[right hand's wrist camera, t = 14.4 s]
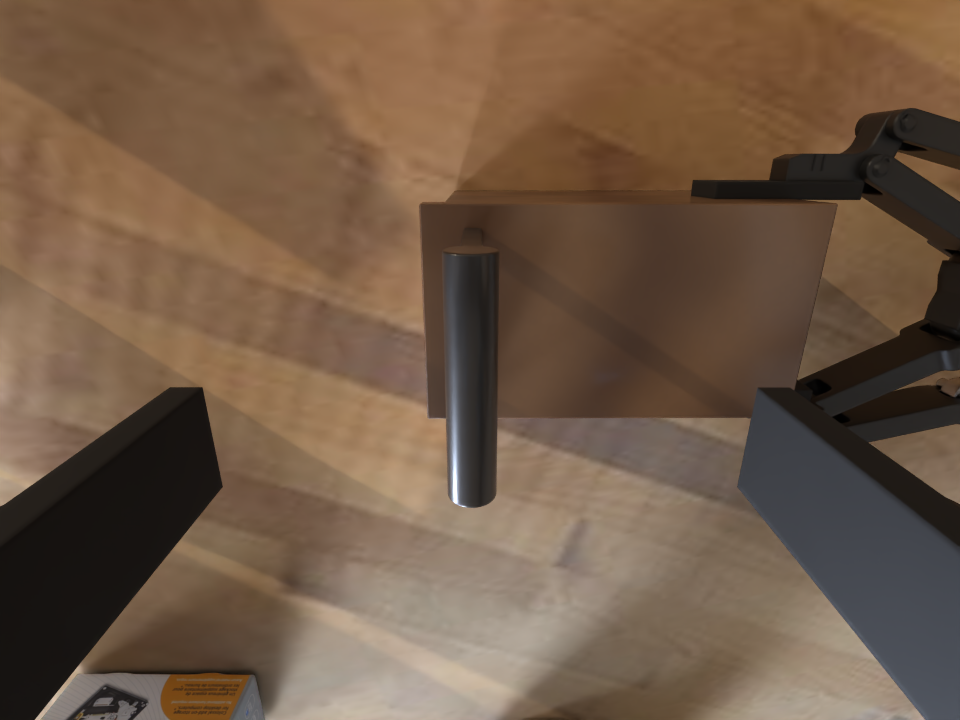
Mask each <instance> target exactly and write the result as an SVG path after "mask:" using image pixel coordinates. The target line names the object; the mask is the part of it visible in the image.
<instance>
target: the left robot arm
mask: <svg viewBox="0 0 960 720" xmlns="http://www.w3.org/2000/svg"><path fill="white" fill-rule="evenodd" d="M855 135H856V138H855V140H854V142H853V143H852V145H851V146H850V147H849V148H848V149H847V150H846V151H844V152H843V153H840V154H785V155H782V156H780V157H777V158H775V159H773V164H772V169H771V174H770V179H769V180H693V184H692V191H691V196H696V197H703V198H711V199H797V200H860V199H861V197H863V198H864V199H866V200H868V201H869V202H871V203H872V204H874V205H875V206H877V207H878V208H880V209H882V210H883V211H885V212H886V213H888V214H889V215H891V216H892V217H894V218H896V219H897V220H899V221H900V222H902V223H903V224H905V225H906V226H908V227H910V228H911V229H913V230H914V231H916V232H917V233H919V234H920V235H922V236H924V237H925V238H927V239H928V241H927V243H929V244H930V245H932V246H933V247H935V248H936V249H938V250H939V251H941V252H942V253H944V254H946V255H947V256H949V257H950V259H949V260H943V261H942V264H941V267H940V270H939V273H938V285H937V291H936V293H935V295H934V297H933V298H932V300H931V302H930V303H929V305H928V308H927V312H926V315H925V318H924V319H923V320H921V321H919V322H916V323H914V324H912V325H910V326H907V327H905V328H903V329H901V330H900V335H899V336H898V337H896V338H894V339H891V340H889V341H887V342H884V343H882V344H880V345H878V346H875V347H873V348H871V349H868V350H866V351H864V352H862V353H859V354H857V355H855V356H853V357H850V358H848V359H846V360H843V361H841V362H839V363H837V364H834V365H832V366H830V367H828V368H825V369H823V370H821V371H818V372H816V373H814V374H812V375H809V376H807V377H805V378H802V379H800V380H797V381H796V385H795V389H794V391H796V392H797V393H799V394H800V395H801V396H803V397H804V398H806V399H807V400H808V401H810V402H811V403H813V404H814V405H815V406H817V407H818V408H820V409H821V410H823V411H824V412H825V413H827V414H828V415H830V416H831V417H832V418H834V419H835V420H837V421H838V422H839V423H841V424H842V425H844V426H845V427H847V428H848V429H849V430H851V431H852V432H854V433H855V434H856V435H858V436H859V437H861V438H862V439H864V440H865V441H866V442H872V441H877V440H882V439H887V438H891V437H896V436H901V435H906V434H910V433H915V432H920V431H925V430H929V429H934V428H939V427H944V426H948V425H953V424H960V377H959V378H952V379H950V380H947V379H945V378H941V379H939V380H938V381H937V382H936V386H931V385H926V386H916V387H911V388H906V389H901V390H897V391H894V390H896V389H899V388H901V387H903V386H906V385H908V384H911V383H913V382H915V381H918V380H920V379H922V378H925V377H927V376H929V375H932V374H934V373H937V372H939V371H944V370H947V371H955V370H960V202H959V201H958V200H956V199H955V198H953V197H952V196H950V195H949V194H947V193H946V192H944V191H943V190H941V189H940V188H938V187H937V186H935V185H934V184H932V183H931V182H929V181H928V180H926V179H925V178H923V177H922V176H920V175H919V174H917V173H916V172H914V171H913V170H911V169H910V168H908V167H907V166H905V165H904V164H902V163H901V162H899V161H898V160H896V159H895V158H894V156H895V155H896V153H897V152H901V153H904V154H907V155H911V156H914V157H918V158H921V159H924V160H928V161H931V162H935V163H938V164H941V165H945V166H948V167H952V168H955V169H958V170H960V122H958V121H955V120H952V119H948V118H945V117H942V116H939V115H935V114H932V113H929V112H925V111H922V110H919V109H915V108H908V109H901V110H893V111H886V112H878V113H871V114H867V115H864V116H863V117H862V118H861V119H860V120H859V121H858V123H857V124H856V128H855Z"/></svg>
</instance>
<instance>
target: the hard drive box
mask: <svg viewBox="0 0 960 720" xmlns="http://www.w3.org/2000/svg"><path fill="white" fill-rule="evenodd" d="M41 720H265V718H264V713H263V709H262V704H261V700H260V696H259V691H258V686H257V682H256V678H255V676H254V675H225V674H221V673H202V674H189V675H185V674H132V673H109V674H77V675H76V677H75V678H74V679H73V680H72V681H71V683H70V684H69V685H68V686H67V688H66V689H65V690H64V691H63V693H62V694H61V695H60V696H59V698H58V699H57V700H56V701H55V703H54V704H53V705H52V706H51V708H50V709H49V710H48V711H47V712H46V714H45V715H44V716H43V717H42V719H41Z"/></svg>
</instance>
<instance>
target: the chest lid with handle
mask: <svg viewBox="0 0 960 720" xmlns="http://www.w3.org/2000/svg"><path fill="white" fill-rule="evenodd" d="M836 210H837V204H836V203H826V202H422V203H421V204H420V205H419V213H420V238H421V263H422V288H423V314H424V339H425V364H426V389H427V414H428V418H429V419H432V418H446V433H447V472H448V496H449V498H450V499H451V501H452V502H454V503H455V504H457V505H459V506H462V507H468V508H476V507H481V506H484V505H487V504H489V503H490V502H491V501H493V499H494V498H495V496H496V480H497V418H751V417H752V412H753V407H754V403H755V398H756V393H757V388H758V387H790V388H791V389H793V390H794V389H795V385H796V381H797V377H798V372H799V368H800V364H801V359H802V355H803V351H804V347H805V342H806V338H807V334H808V329H809V325H810V321H811V317H812V312H813V308H814V304H815V300H816V295H817V291H818V287H819V282H820V278H821V274H822V270H823V265H824V261H825V257H826V253H827V248H828V244H829V240H830V235H831V231H832V227H833V223H834V218H835V214H836Z"/></svg>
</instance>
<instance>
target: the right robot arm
mask: <svg viewBox="0 0 960 720" xmlns="http://www.w3.org/2000/svg"><path fill="white" fill-rule="evenodd" d="M222 487H223V486H222V481H221V476H220V471H219V466H218V461H217V456H216V452H215V447H214V442H213V437H212V432H211V427H210V422H209V417H208V412H207V407H206V403H205V398H204V393H203V388H202V387H170V388H169V389H167V390H166V391H164V392H163V393H161V394H160V395H159V396H157V397H156V398H154V399H153V400H152V401H150V402H149V403H147V404H146V405H145V406H143V407H142V408H140V409H139V410H137V411H136V412H135V413H133V414H132V415H130V416H129V417H128V418H126V419H125V420H123V421H122V422H121V423H119V424H118V425H116V426H115V427H113V428H112V429H111V430H109V431H108V432H106V433H105V434H104V435H102V436H101V437H99V438H98V439H96V440H95V441H94V442H92V443H91V444H89V445H88V446H87V447H85V448H84V449H82V450H81V451H80V452H78V453H77V454H75V455H74V456H72V457H71V458H70V459H68V460H67V461H65V462H64V463H63V464H61V465H60V466H58V467H57V468H56V469H54V470H53V471H51V472H50V473H48V474H47V475H46V476H44V477H43V478H41V479H40V480H39V481H37V482H36V483H34V484H33V485H31V486H30V487H29V488H27V489H26V490H24V491H23V492H22V493H20V494H19V495H17V496H16V497H15V498H13V499H12V500H10V501H9V502H7V503H6V504H4V505H2V506H0V720H35V719H36V717H37V716H38V715H39V714H40V712H41V711H42V710H43V709H44V707H45V706H46V705H47V704H48V702H49V701H50V700H51V699H52V698H53V696H54V695H55V694H56V693H57V691H58V690H59V689H60V688H61V686H62V685H63V684H64V683H65V681H66V680H67V679H68V678H69V676H70V675H71V674H72V673H73V672H74V670H75V669H76V668H77V667H78V665H79V664H80V663H81V662H82V660H83V659H84V658H85V657H86V655H87V654H88V653H89V652H90V650H91V649H92V648H93V647H94V646H95V644H96V643H97V642H98V641H99V639H100V638H101V637H102V636H103V634H104V633H105V632H106V631H107V629H108V628H109V627H110V626H111V624H112V623H113V622H114V621H115V620H116V618H117V617H118V616H119V615H120V613H121V612H122V611H123V610H124V608H125V607H126V606H127V605H128V603H129V602H130V601H131V600H132V598H133V597H134V596H135V595H136V594H137V592H138V591H139V590H140V589H141V587H142V586H143V585H144V584H145V582H146V581H147V580H148V579H149V577H150V576H151V575H152V574H153V572H154V571H155V570H156V569H157V568H158V566H159V565H160V564H161V563H162V561H163V560H164V559H165V558H166V556H167V555H168V554H169V553H170V551H171V550H172V549H173V548H174V546H175V545H176V544H177V543H178V542H179V540H180V539H181V538H182V537H183V535H184V534H185V533H186V532H187V530H188V529H189V528H190V527H191V525H192V524H193V523H194V522H195V520H196V519H197V518H198V517H199V515H200V514H201V513H202V512H203V511H204V509H205V508H206V507H207V506H208V504H209V503H210V502H211V501H212V499H213V498H214V497H215V496H216V494H217V493H218V492H219V491H220V489H221V488H222ZM737 487H738V488H739V489H740V491H741V492H742V493H743V494H744V496H745V497H746V498H747V499H748V501H749V502H750V503H751V504H752V506H753V507H754V508H755V509H756V511H757V512H758V513H759V514H760V515H761V517H762V518H763V519H764V520H765V522H766V523H767V524H768V525H769V527H770V528H771V529H772V530H773V532H774V533H775V534H776V535H777V537H778V538H779V539H780V540H781V542H782V543H783V544H784V545H785V546H786V548H787V549H788V550H789V551H790V553H791V554H792V555H793V556H794V558H795V559H796V560H797V561H798V563H799V564H800V565H801V566H802V568H803V569H804V570H805V571H806V572H807V574H808V575H809V576H810V577H811V579H812V580H813V581H814V582H815V584H816V585H817V586H818V587H819V589H820V590H821V591H822V592H823V594H824V595H825V596H826V597H827V598H828V600H829V601H830V602H831V603H832V605H833V606H834V607H835V608H836V610H837V611H838V612H839V613H840V615H841V616H842V617H843V618H844V620H845V621H846V622H847V623H848V624H849V626H850V627H851V628H852V629H853V631H854V632H855V633H856V634H857V636H858V637H859V638H860V639H861V641H862V642H863V643H864V644H865V646H866V647H867V648H868V649H869V650H870V652H871V653H872V654H873V655H874V657H875V658H876V659H877V660H878V662H879V663H880V664H881V665H882V667H883V668H884V669H885V670H886V672H887V673H888V674H889V675H890V676H891V678H892V679H893V680H894V681H895V683H896V684H897V685H898V686H899V688H900V689H901V690H902V691H903V693H904V694H905V695H906V696H907V698H908V699H909V700H910V701H911V702H912V704H913V705H914V706H915V707H916V709H917V710H918V711H919V712H920V714H921V715H922V716H923V717H924V719H925V720H960V504H958V503H956V502H954V501H952V500H950V499H948V498H945V497H944V496H943V495H941V494H940V493H938V492H937V491H936V490H934V489H933V488H931V487H930V486H929V485H927V484H926V483H924V482H923V481H921V480H920V479H919V478H917V477H916V476H914V475H913V474H912V473H910V472H909V471H907V470H906V469H904V468H903V467H902V466H900V465H899V464H897V463H896V462H895V461H893V460H892V459H890V458H889V457H888V456H886V455H885V454H883V453H882V452H880V451H879V450H878V449H876V448H875V447H873V446H872V445H871V444H869V443H868V442H866V441H865V440H864V439H862V438H861V437H859V436H858V435H856V434H855V433H854V432H852V431H851V430H849V429H848V428H847V427H845V426H844V425H842V424H841V423H839V422H838V421H837V420H835V419H834V418H832V417H831V416H830V415H828V414H827V413H825V412H824V411H823V410H821V409H820V408H818V407H817V406H815V405H814V404H813V403H811V402H810V401H808V400H807V399H806V398H804V397H803V396H801V395H800V394H799V393H797V392H796V391H794V390H793V389H791V388H790V387H758V388H757V393H756V398H755V403H754V407H753V412H752V417H751V422H750V427H749V432H748V437H747V442H746V447H745V452H744V456H743V461H742V466H741V471H740V476H739V481H738V486H737Z"/></svg>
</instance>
